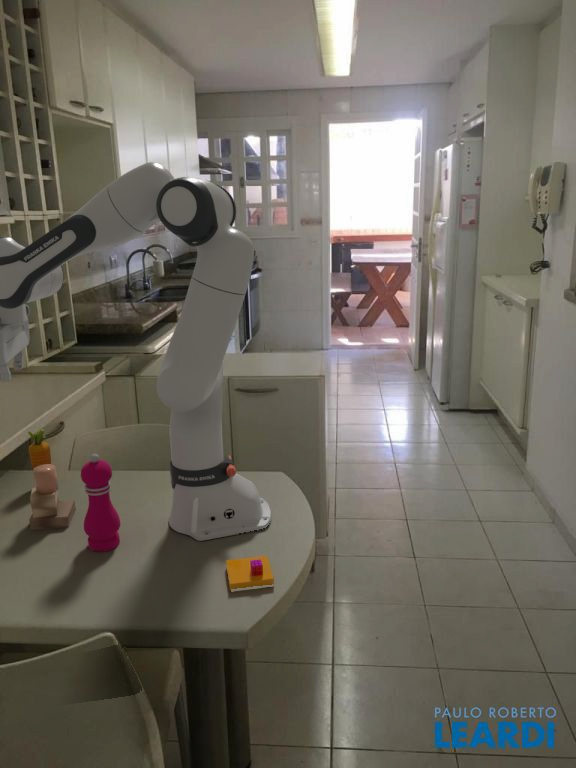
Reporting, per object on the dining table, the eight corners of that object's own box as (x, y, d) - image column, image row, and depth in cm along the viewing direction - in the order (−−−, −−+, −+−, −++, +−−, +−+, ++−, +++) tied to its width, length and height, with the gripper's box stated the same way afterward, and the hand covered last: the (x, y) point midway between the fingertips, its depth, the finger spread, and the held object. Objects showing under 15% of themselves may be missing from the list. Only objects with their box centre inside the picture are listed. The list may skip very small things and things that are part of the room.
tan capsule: (60, 483, 140) (57, 463, 139) (55, 493, 136) (52, 472, 134) (39, 485, 140) (36, 464, 138) (33, 495, 135) (30, 474, 134)
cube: (59, 504, 142) (56, 484, 140) (57, 515, 137) (54, 494, 136) (35, 507, 141) (32, 487, 139) (33, 518, 136) (29, 497, 134)
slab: (75, 511, 145) (74, 499, 144) (69, 528, 137) (67, 516, 136) (39, 514, 144) (38, 502, 143) (31, 532, 136) (29, 519, 135)
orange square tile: (230, 594, 113) (229, 574, 112) (226, 570, 121) (225, 550, 119) (274, 589, 114) (273, 568, 113) (267, 565, 122) (266, 546, 121)
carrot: (29, 487, 156) (21, 430, 152) (47, 479, 160) (39, 424, 156) (41, 491, 154) (33, 434, 149) (59, 484, 158) (51, 428, 153)
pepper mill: (96, 533, 134) (86, 446, 128) (128, 536, 133) (119, 448, 127) (79, 551, 127) (68, 460, 121) (112, 554, 126) (102, 462, 120)
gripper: (4, 321, 127) (14, 387, 131) (30, 305, 146) (38, 362, 150) (-28, 323, 126) (-18, 388, 130) (2, 306, 146) (11, 364, 150)
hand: (13, 374), depth 140 cm, fingers open, 8 cm apart
